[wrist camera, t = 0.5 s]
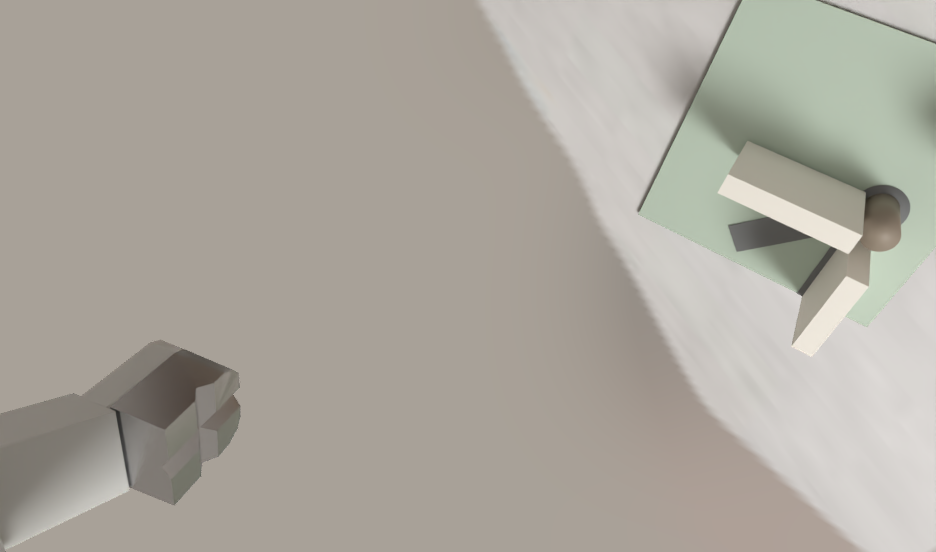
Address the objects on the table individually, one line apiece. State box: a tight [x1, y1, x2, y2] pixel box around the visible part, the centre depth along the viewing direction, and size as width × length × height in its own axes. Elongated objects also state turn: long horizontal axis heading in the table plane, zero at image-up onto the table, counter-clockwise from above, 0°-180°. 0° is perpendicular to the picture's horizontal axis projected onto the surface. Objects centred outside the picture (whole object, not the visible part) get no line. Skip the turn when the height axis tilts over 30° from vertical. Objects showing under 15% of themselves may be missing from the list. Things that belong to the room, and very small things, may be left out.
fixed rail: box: [791, 194, 901, 357], centre depth 46 cm, size 10×2×8 cm, turn 165°
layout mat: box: [638, 0, 936, 327], centre depth 48 cm, size 20×20×1 cm
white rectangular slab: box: [718, 141, 866, 254], centre depth 45 cm, size 9×2×8 cm, turn 75°
